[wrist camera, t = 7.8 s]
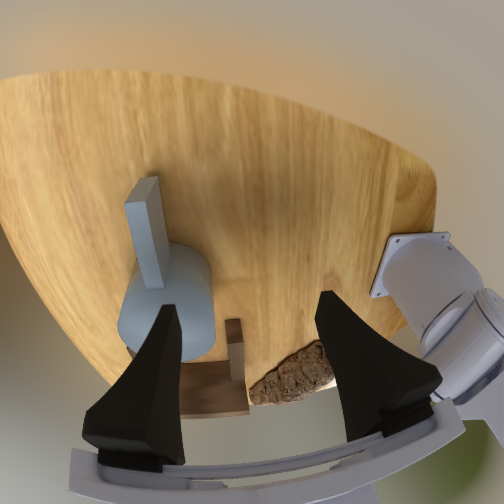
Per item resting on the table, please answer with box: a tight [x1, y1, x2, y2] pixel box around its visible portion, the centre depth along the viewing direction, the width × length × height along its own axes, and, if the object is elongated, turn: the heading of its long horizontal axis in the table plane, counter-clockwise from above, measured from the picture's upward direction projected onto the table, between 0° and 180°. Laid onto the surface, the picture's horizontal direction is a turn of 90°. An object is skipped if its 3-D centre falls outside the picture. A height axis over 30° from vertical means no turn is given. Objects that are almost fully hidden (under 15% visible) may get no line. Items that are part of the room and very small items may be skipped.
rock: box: [249, 341, 335, 406], centre depth 33 cm, size 15×10×6 cm
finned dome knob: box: [117, 176, 216, 362], centre depth 18 cm, size 7×13×6 cm, turn 179°
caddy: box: [127, 319, 250, 419], centre depth 26 cm, size 12×9×7 cm
